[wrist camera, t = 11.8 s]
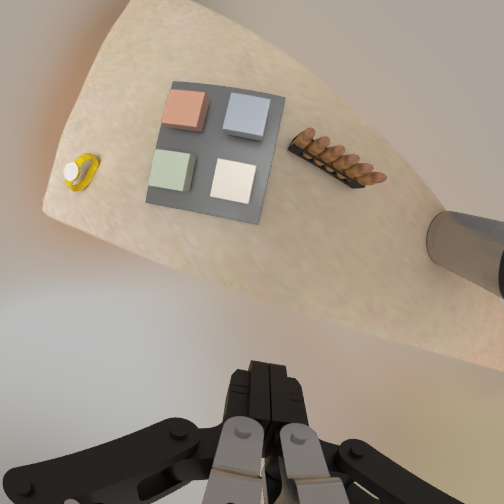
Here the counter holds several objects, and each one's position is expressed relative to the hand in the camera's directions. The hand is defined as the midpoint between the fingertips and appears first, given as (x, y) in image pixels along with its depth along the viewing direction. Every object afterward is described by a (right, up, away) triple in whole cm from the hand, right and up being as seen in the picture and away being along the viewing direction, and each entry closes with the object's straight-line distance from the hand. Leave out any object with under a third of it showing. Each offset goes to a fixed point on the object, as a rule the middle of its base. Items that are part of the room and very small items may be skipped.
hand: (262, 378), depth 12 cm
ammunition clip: (+10, +18, +26) cm, 33 cm away
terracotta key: (-9, +24, +22) cm, 34 cm away
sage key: (-10, +16, +24) cm, 31 cm away
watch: (-25, +18, +27) cm, 41 cm away
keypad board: (-6, +20, +25) cm, 33 cm away
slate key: (-1, +22, +21) cm, 31 cm away
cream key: (-3, +14, +24) cm, 29 cm away
